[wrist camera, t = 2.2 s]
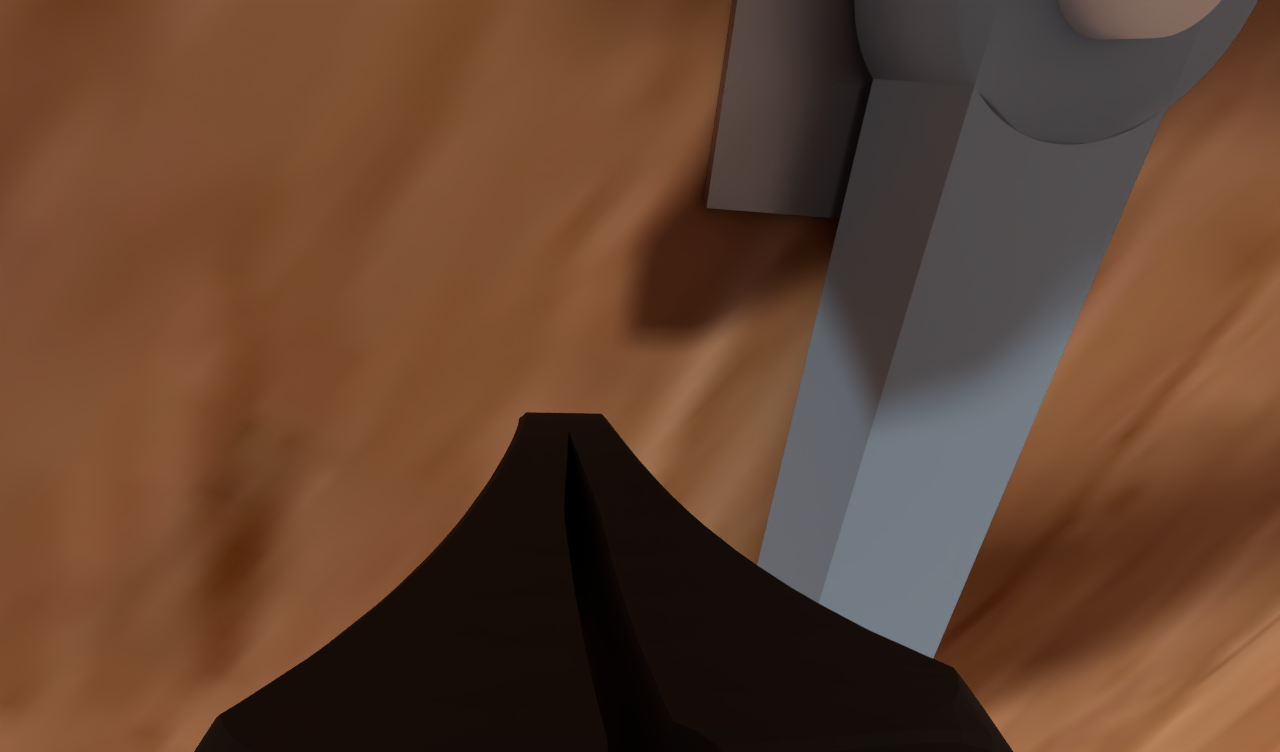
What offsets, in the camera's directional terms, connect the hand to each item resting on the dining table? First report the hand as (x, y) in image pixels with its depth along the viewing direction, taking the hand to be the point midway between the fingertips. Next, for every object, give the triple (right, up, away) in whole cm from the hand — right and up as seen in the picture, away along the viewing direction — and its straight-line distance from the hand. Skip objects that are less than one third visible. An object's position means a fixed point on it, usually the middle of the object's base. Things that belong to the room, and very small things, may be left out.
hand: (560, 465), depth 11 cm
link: (+6, +3, +2) cm, 7 cm away
